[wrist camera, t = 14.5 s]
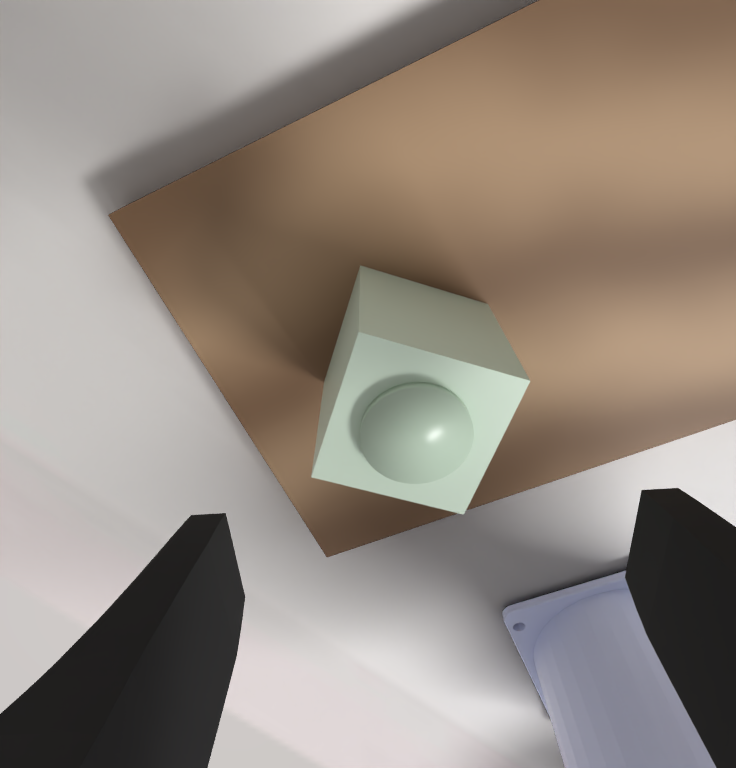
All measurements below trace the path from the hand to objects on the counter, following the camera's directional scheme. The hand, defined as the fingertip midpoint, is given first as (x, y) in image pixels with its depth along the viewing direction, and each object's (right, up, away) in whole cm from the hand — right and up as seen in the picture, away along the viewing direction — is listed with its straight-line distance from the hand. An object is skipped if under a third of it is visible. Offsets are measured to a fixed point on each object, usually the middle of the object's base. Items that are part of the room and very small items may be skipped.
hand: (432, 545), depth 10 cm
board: (+4, +6, +8) cm, 11 cm away
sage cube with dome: (0, +4, +8) cm, 9 cm away
